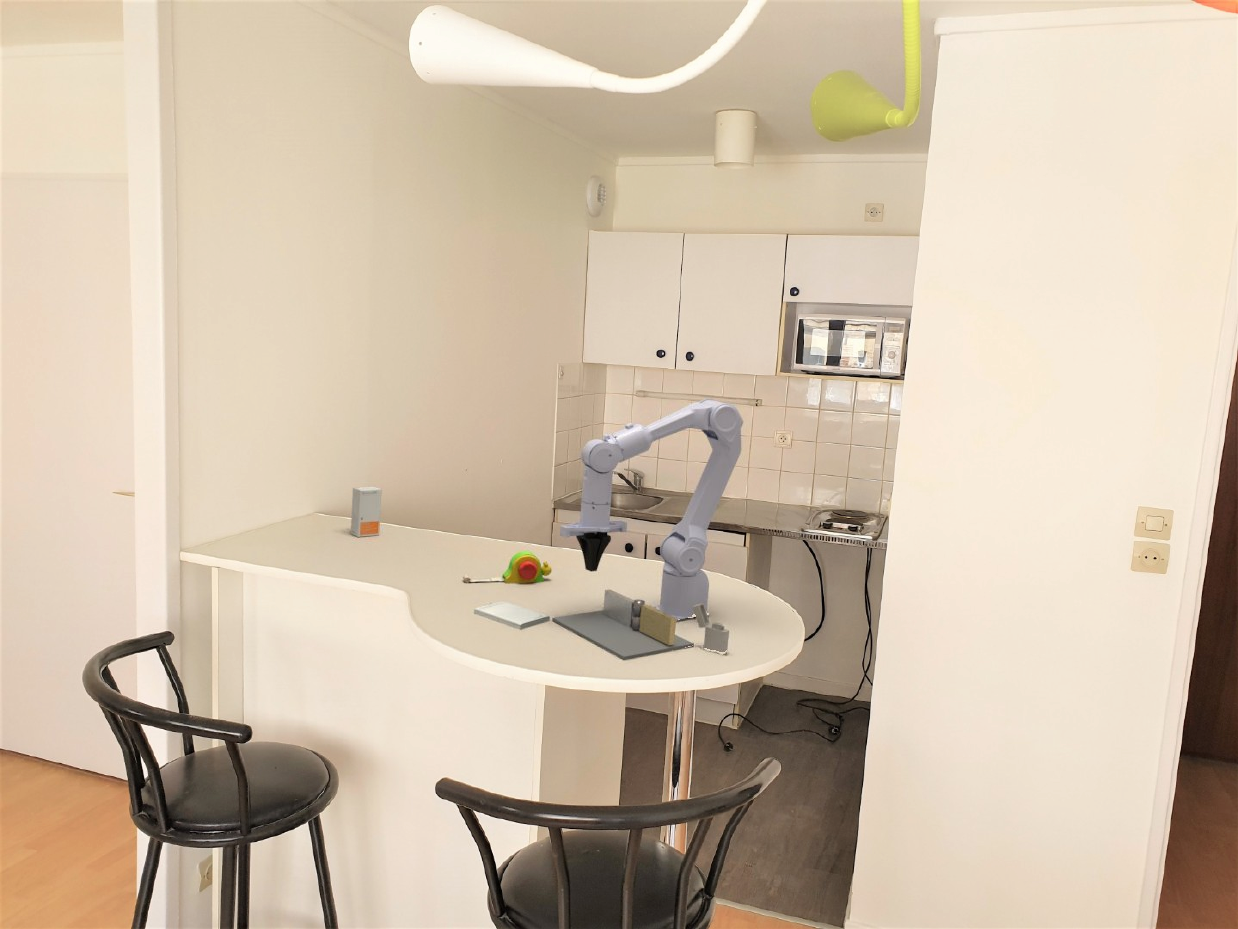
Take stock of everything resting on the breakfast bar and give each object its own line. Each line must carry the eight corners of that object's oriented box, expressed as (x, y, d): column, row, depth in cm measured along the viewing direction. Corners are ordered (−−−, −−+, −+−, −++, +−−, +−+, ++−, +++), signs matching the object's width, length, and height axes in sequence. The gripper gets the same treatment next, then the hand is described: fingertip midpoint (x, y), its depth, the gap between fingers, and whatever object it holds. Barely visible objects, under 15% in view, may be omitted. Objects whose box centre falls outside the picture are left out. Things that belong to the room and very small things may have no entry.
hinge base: (618, 610, 189) (620, 583, 188) (693, 646, 171) (695, 617, 170) (552, 620, 180) (554, 592, 179) (623, 660, 162) (626, 629, 161)
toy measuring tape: (554, 584, 205) (556, 555, 204) (465, 586, 198) (467, 556, 197) (547, 576, 211) (548, 548, 210) (460, 578, 204) (462, 549, 203)
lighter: (727, 652, 169) (731, 610, 168) (722, 655, 168) (726, 612, 167) (694, 642, 173) (697, 601, 172) (689, 645, 172) (692, 603, 171)
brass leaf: (629, 627, 176) (631, 600, 176) (638, 626, 178) (640, 599, 177) (667, 645, 168) (669, 617, 167) (675, 644, 169) (678, 616, 168)
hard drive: (550, 615, 180) (503, 599, 187) (520, 624, 173) (473, 607, 180) (549, 623, 180) (503, 607, 187) (520, 633, 173) (473, 615, 181)
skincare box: (357, 537, 232) (359, 490, 230) (350, 534, 235) (351, 487, 233) (380, 535, 236) (382, 489, 234) (372, 531, 239) (374, 486, 237)
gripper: (576, 508, 173) (571, 579, 175) (638, 504, 182) (632, 571, 184) (556, 500, 179) (551, 569, 181) (616, 497, 187) (611, 562, 189)
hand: (591, 570), depth 183 cm, fingers closed
